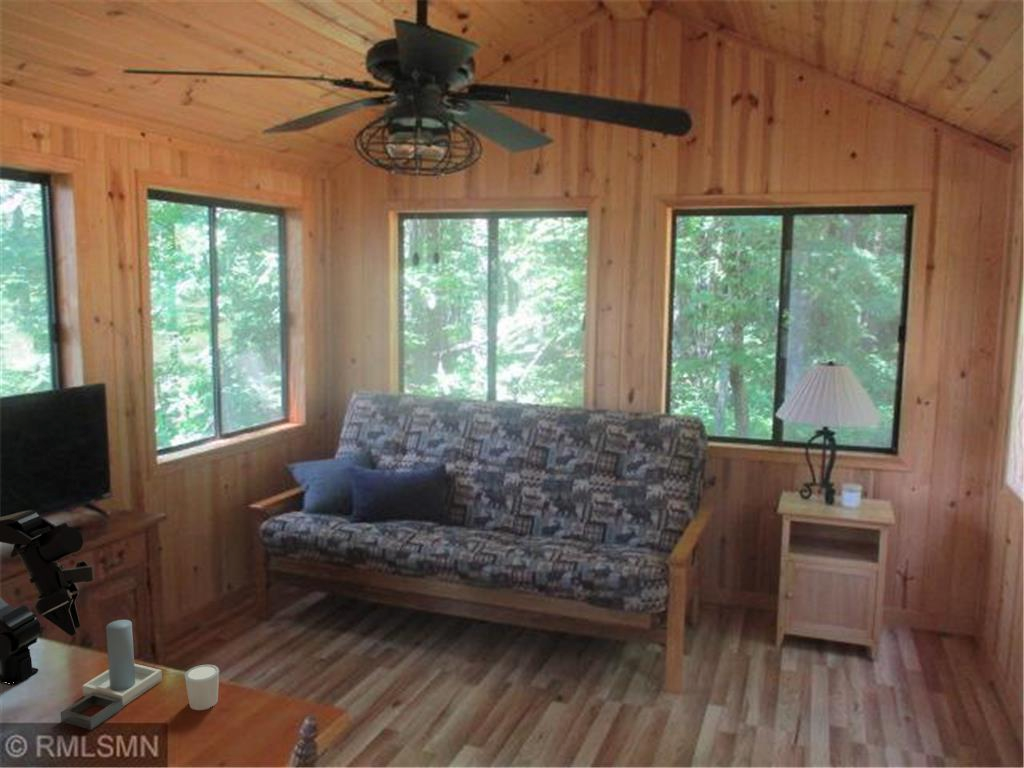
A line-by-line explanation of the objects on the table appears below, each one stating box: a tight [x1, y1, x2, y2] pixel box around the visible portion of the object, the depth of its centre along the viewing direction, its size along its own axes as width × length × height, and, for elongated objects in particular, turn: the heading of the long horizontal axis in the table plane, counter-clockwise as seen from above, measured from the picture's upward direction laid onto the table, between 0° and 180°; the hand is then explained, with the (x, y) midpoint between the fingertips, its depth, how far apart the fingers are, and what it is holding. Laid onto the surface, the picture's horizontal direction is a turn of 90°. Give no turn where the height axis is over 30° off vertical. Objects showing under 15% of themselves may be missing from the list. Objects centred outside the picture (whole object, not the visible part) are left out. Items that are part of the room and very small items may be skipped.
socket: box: [60, 692, 124, 731], centre depth 165 cm, size 8×8×2 cm
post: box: [105, 619, 135, 691], centre depth 173 cm, size 5×5×14 cm
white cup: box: [184, 664, 220, 711], centre depth 169 cm, size 7×7×7 cm
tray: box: [82, 662, 163, 707], centre depth 174 cm, size 11×11×2 cm
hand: (75, 631), depth 173 cm, fingers open, 9 cm apart
